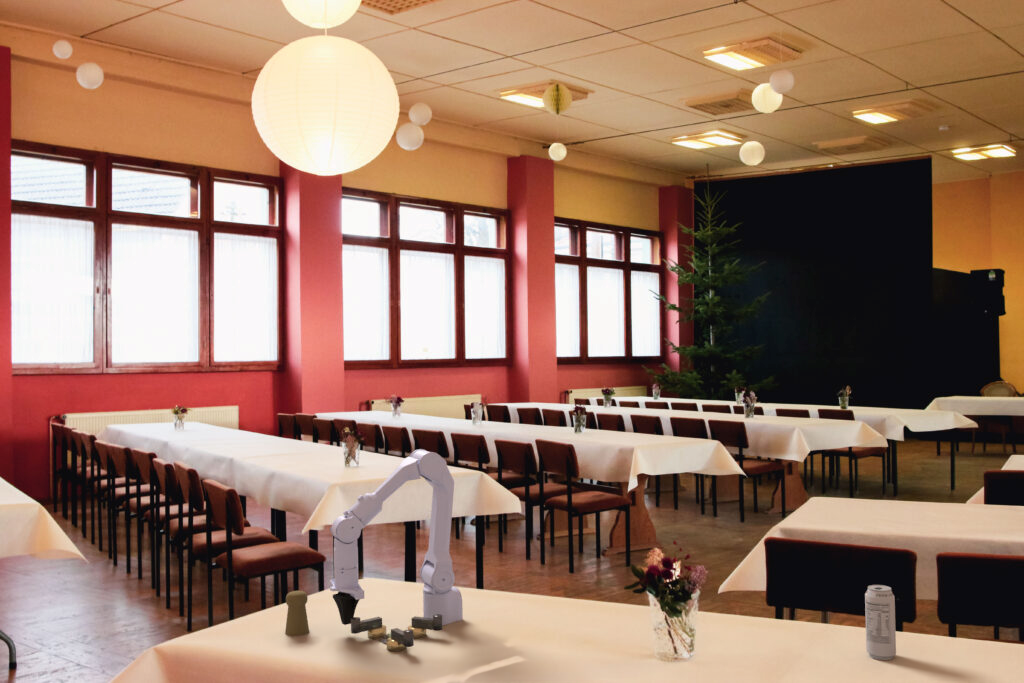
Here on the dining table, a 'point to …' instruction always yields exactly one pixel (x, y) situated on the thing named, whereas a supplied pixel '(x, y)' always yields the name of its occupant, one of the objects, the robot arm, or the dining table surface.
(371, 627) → the knob
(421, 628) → the knob
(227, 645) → the dining table surface
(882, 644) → the energy drink can
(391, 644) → the knob
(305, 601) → the cork
